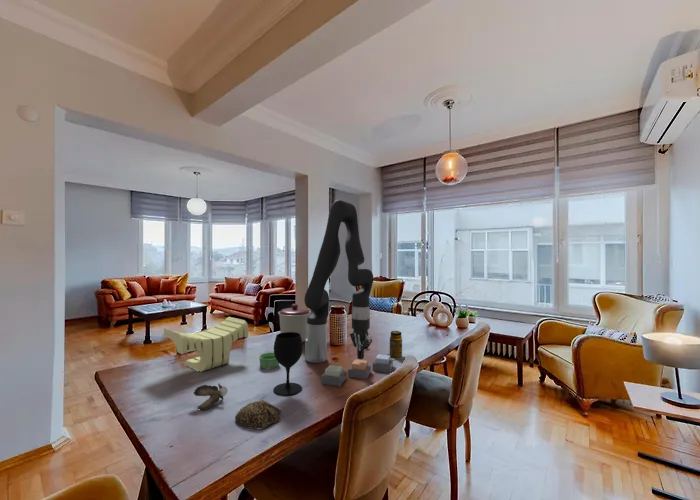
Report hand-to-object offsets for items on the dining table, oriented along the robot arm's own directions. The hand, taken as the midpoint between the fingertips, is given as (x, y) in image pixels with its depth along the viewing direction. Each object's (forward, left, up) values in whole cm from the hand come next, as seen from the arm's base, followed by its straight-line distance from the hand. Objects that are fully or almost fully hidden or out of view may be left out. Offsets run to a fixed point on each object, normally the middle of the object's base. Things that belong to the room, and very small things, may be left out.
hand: (360, 358), depth 129 cm
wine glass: (-22, -22, -7) cm, 32 cm away
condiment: (+10, +26, -7) cm, 29 cm away
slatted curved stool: (-67, -11, -7) cm, 68 cm away
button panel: (0, 0, -6) cm, 6 cm away
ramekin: (-41, -3, -7) cm, 41 cm away
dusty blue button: (+8, +9, -4) cm, 13 cm away
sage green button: (-8, -10, -4) cm, 13 cm away
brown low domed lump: (-21, -42, -7) cm, 47 cm away
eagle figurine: (-41, -39, -7) cm, 57 cm away
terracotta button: (0, 0, -4) cm, 4 cm away
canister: (-47, +33, -7) cm, 58 cm away
